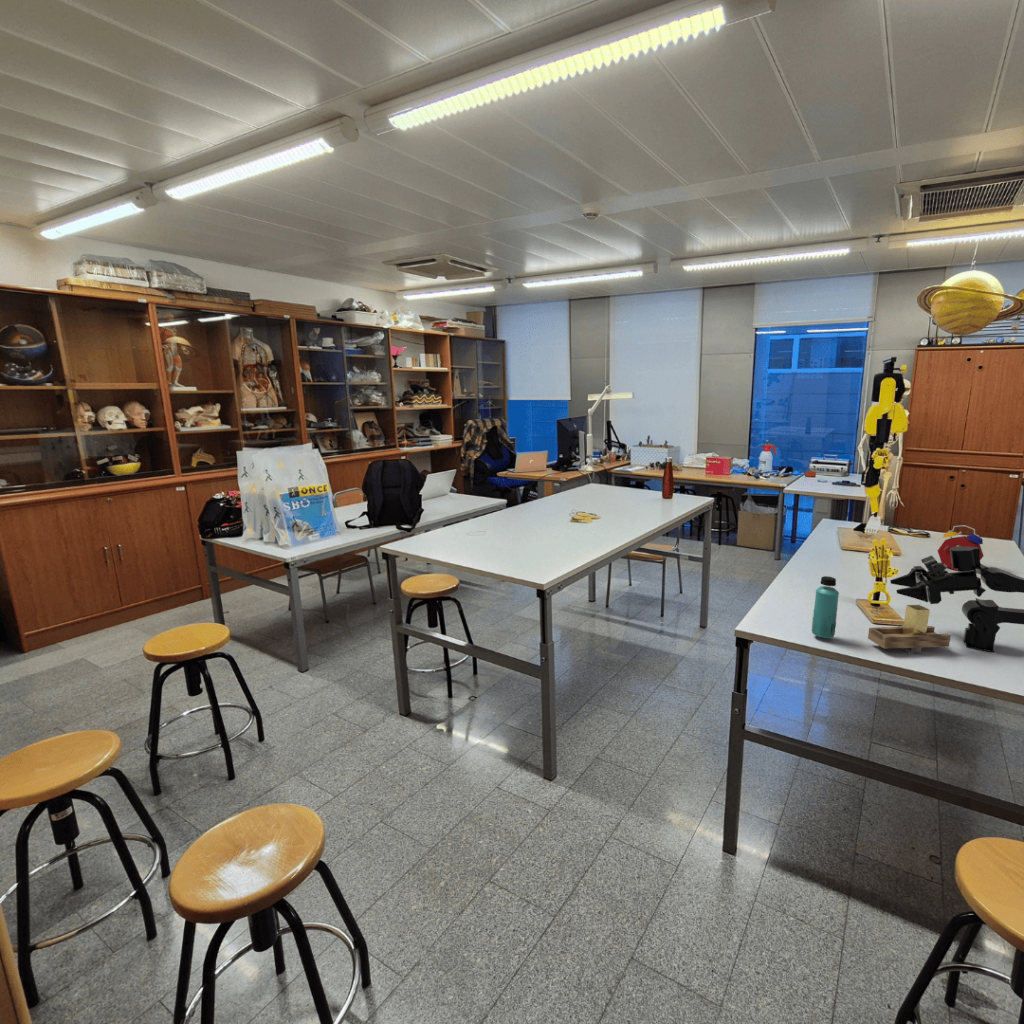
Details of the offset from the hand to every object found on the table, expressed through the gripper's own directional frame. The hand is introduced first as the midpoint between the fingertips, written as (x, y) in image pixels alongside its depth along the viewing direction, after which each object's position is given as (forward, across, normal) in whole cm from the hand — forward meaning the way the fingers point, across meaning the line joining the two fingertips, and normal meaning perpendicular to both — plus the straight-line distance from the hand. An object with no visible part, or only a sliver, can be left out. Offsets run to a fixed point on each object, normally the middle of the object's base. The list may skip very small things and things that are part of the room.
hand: (893, 586), depth 174 cm
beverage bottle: (+22, +13, +10) cm, 28 cm away
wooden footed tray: (0, +12, +16) cm, 19 cm away
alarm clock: (-36, -91, +28) cm, 102 cm away
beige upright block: (-2, +11, +12) cm, 16 cm away
